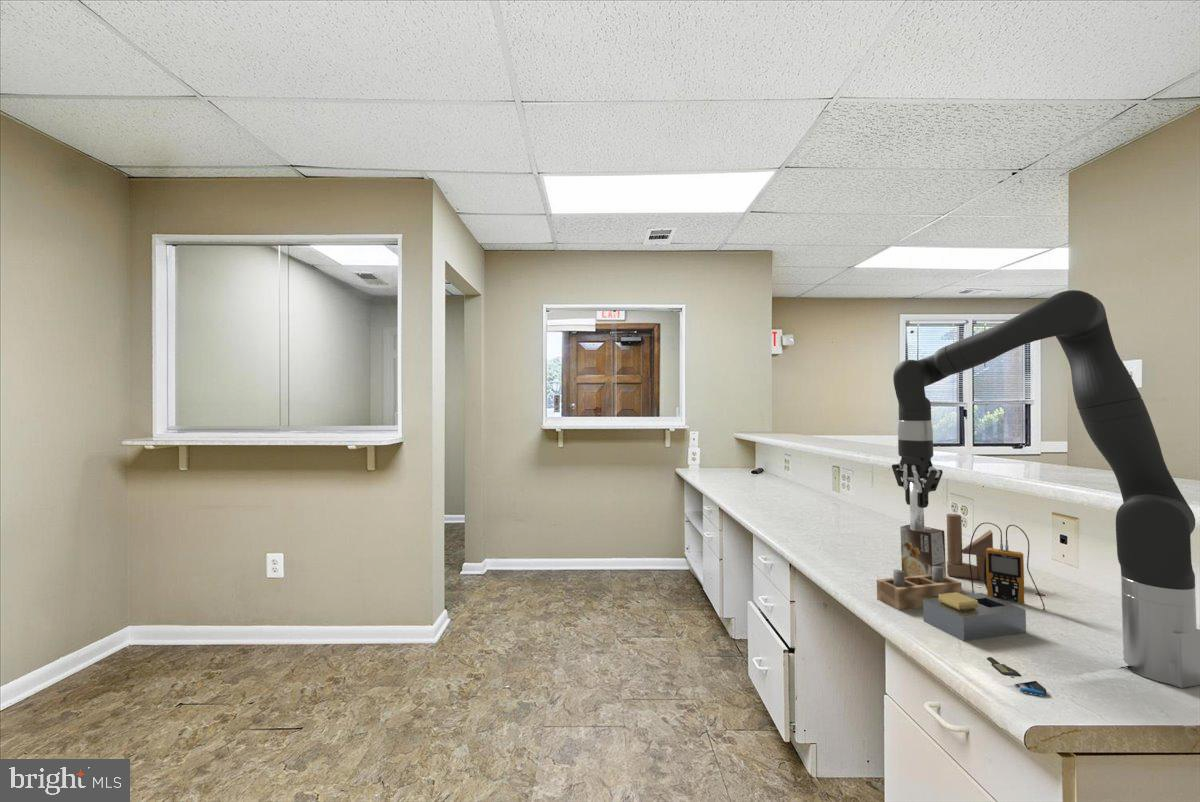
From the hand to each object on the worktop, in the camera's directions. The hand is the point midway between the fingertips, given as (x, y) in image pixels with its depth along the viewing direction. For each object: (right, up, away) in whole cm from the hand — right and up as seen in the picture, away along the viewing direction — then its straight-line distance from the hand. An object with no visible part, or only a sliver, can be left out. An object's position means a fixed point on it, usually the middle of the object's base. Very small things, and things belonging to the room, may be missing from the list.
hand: (916, 505), depth 125 cm
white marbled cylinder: (0, -6, 0) cm, 6 cm away
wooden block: (+28, -25, +19) cm, 42 cm away
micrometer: (-4, -26, -34) cm, 42 cm away
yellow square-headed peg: (-1, -24, -16) cm, 28 cm away
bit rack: (0, -25, 0) cm, 25 cm away
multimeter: (+21, -25, -2) cm, 33 cm away
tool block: (+3, -25, -15) cm, 29 cm away
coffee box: (+10, -25, +13) cm, 30 cm away
